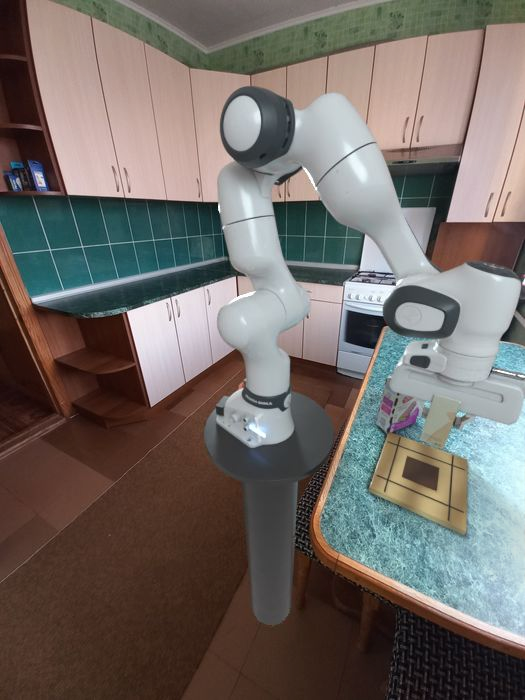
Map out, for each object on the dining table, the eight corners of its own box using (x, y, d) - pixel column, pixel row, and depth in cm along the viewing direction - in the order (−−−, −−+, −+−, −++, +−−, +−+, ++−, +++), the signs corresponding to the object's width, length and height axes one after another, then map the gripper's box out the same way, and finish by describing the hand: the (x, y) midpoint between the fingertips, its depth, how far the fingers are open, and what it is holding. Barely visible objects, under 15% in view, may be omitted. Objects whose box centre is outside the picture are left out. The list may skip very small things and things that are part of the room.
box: (442, 450, 55) (460, 404, 50) (418, 439, 58) (432, 394, 53) (449, 435, 59) (466, 390, 54) (426, 425, 61) (440, 382, 56)
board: (368, 491, 64) (369, 486, 63) (387, 435, 79) (388, 431, 78) (464, 535, 56) (466, 530, 55) (465, 463, 70) (467, 458, 70)
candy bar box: (388, 436, 79) (400, 386, 71) (374, 424, 83) (384, 376, 75) (417, 423, 83) (431, 375, 75) (402, 413, 87) (415, 366, 80)
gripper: (536, 367, 47) (504, 431, 54) (401, 340, 57) (388, 396, 64) (543, 387, 42) (507, 454, 49) (394, 353, 52) (381, 412, 59)
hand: (439, 421), depth 56 cm, fingers closed on box, 4 cm apart
